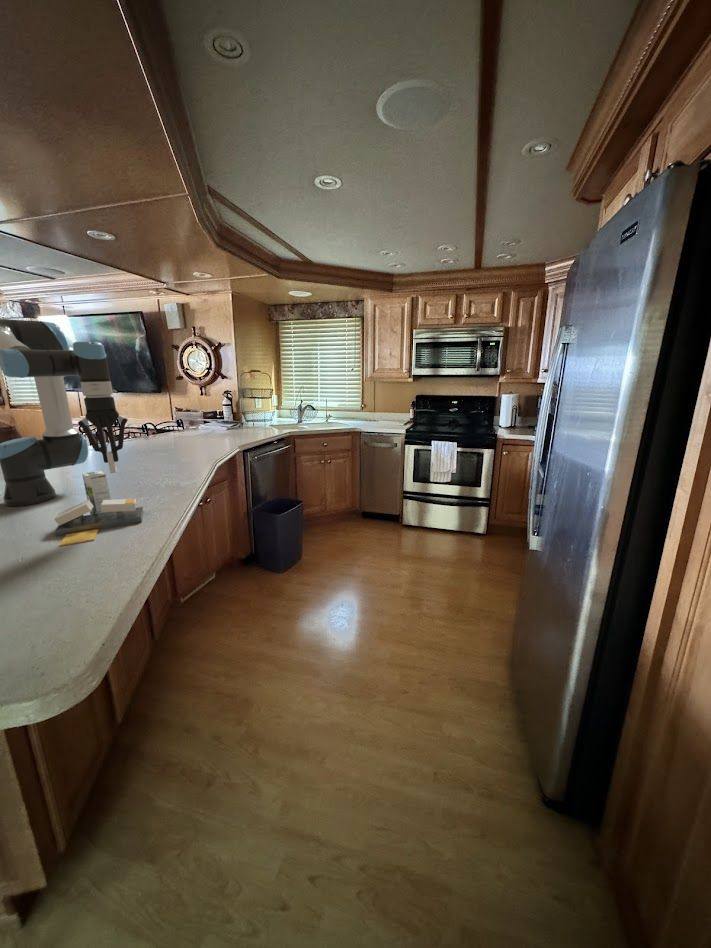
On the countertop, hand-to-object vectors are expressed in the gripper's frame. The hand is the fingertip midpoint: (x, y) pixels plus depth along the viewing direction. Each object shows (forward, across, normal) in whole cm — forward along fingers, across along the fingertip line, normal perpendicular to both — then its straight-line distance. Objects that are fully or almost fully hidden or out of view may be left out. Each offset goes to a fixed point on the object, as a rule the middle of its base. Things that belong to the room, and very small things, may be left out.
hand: (113, 471), depth 119 cm
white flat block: (+12, -11, -2) cm, 17 cm away
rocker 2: (+12, 0, -2) cm, 12 cm away
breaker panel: (+16, -5, -2) cm, 17 cm away
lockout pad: (+16, -10, -12) cm, 22 cm away
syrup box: (+16, -7, +8) cm, 19 cm away
